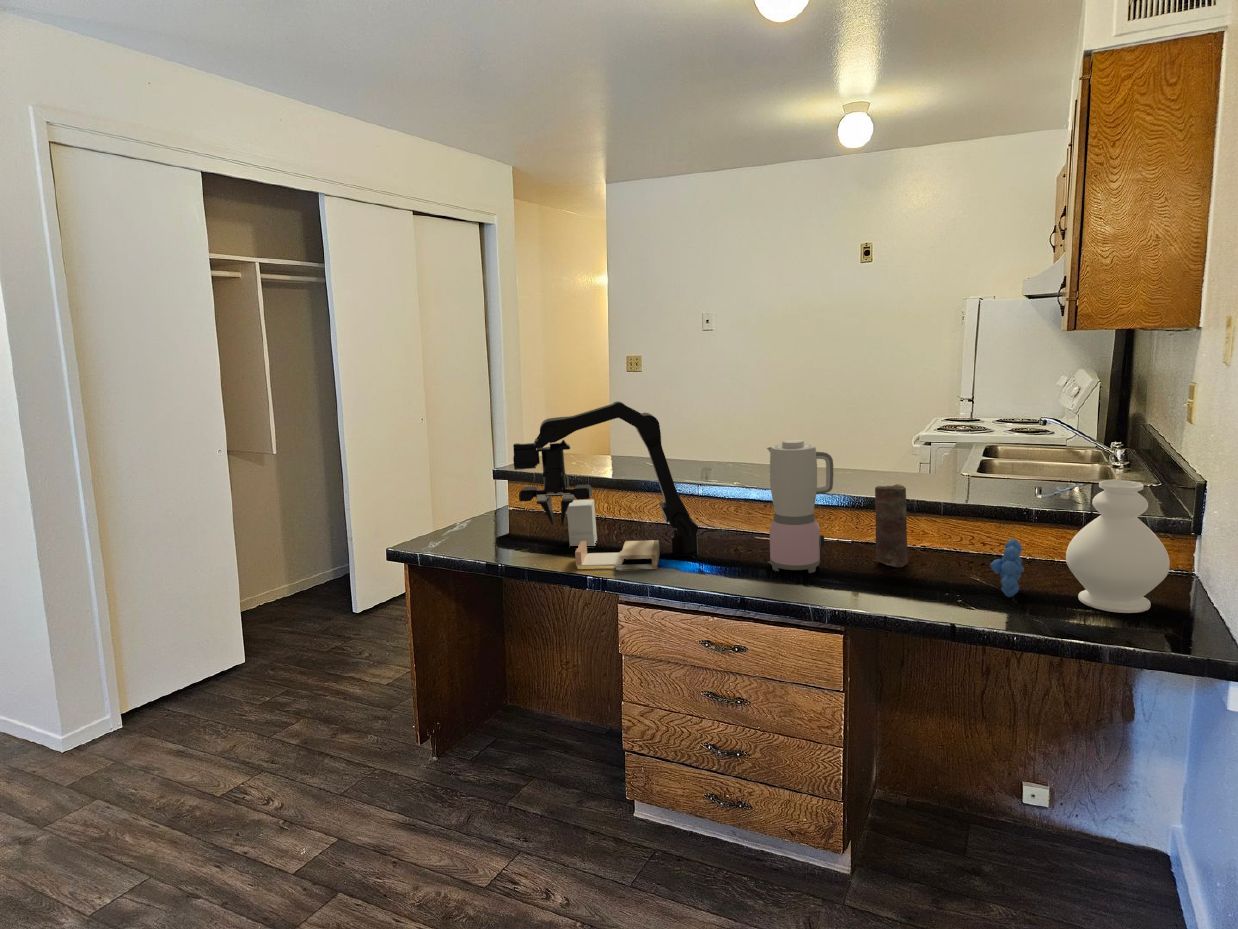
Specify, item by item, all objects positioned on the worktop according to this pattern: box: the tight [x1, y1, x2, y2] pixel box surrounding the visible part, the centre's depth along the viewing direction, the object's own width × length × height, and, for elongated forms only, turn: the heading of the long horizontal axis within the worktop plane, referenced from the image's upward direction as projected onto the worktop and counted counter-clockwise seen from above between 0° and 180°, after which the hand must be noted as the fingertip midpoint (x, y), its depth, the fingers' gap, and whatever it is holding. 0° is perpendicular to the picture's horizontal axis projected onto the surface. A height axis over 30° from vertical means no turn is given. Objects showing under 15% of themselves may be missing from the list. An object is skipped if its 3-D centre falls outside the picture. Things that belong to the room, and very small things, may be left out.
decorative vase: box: [1065, 479, 1171, 614], centre depth 156 cm, size 18×18×25 cm
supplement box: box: [566, 499, 598, 547], centre depth 221 cm, size 7×7×13 cm
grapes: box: [989, 538, 1025, 598], centre depth 165 cm, size 12×7×12 cm, turn 147°
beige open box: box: [615, 539, 660, 570], centre depth 202 cm, size 11×13×4 cm
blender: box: [766, 439, 834, 574], centre depth 188 cm, size 16×12×32 cm
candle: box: [874, 483, 908, 568], centre depth 188 cm, size 8×7×20 cm
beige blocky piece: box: [574, 541, 625, 566], centre depth 203 cm, size 12×10×5 cm
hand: (558, 524), depth 203 cm, fingers open, 2 cm apart
